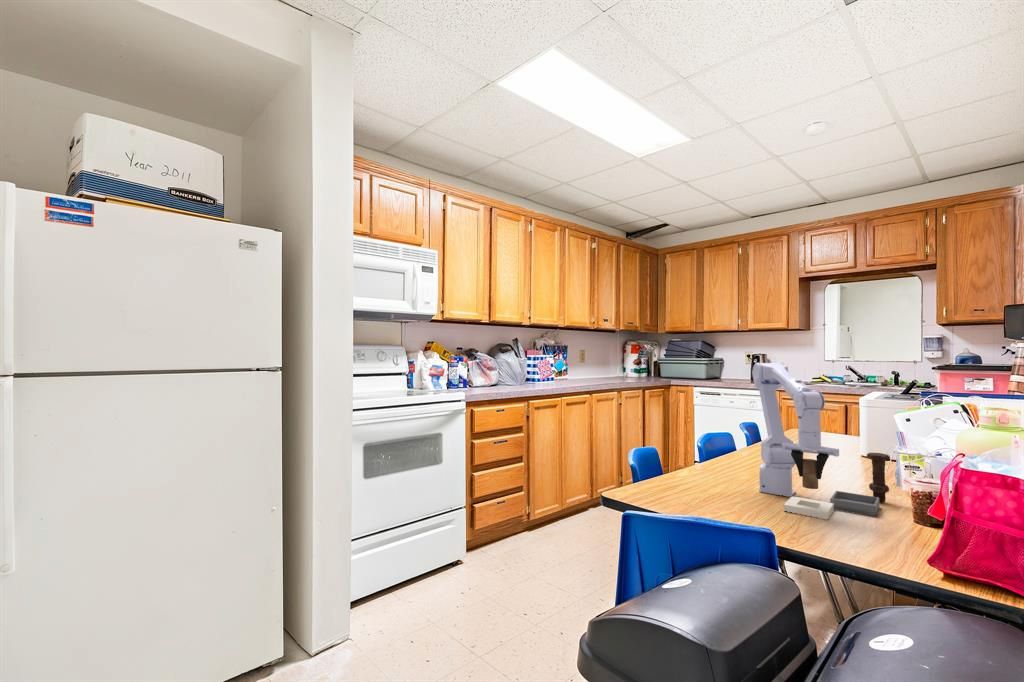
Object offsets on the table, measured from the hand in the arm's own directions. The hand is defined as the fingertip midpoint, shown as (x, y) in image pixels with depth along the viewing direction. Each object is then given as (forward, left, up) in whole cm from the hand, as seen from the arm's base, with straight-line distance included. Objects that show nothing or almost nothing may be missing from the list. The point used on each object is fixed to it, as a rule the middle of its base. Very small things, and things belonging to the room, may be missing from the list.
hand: (810, 477), depth 143 cm
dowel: (0, 0, -3) cm, 3 cm away
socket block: (0, -1, -10) cm, 10 cm away
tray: (+10, +11, -10) cm, 18 cm away
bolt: (+15, +23, -10) cm, 29 cm away
